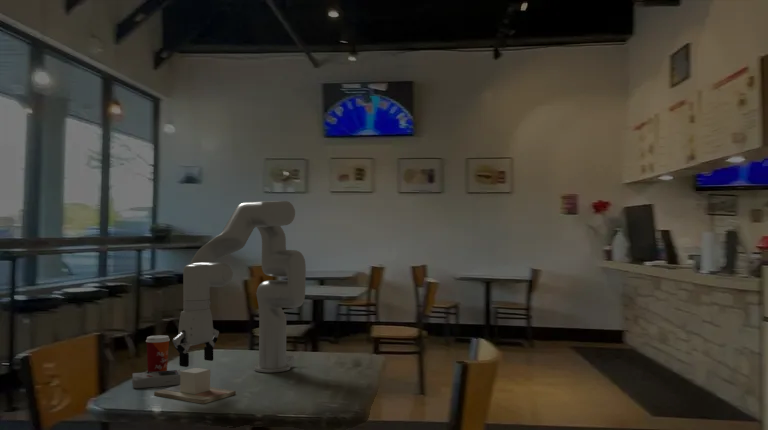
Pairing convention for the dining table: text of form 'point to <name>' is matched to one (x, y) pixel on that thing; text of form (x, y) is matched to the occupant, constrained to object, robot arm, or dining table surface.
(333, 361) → the dining table surface
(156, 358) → the paper cup
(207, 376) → the cream cube
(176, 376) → the handheld gaming device
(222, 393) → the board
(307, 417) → the dining table surface
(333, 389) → the dining table surface
